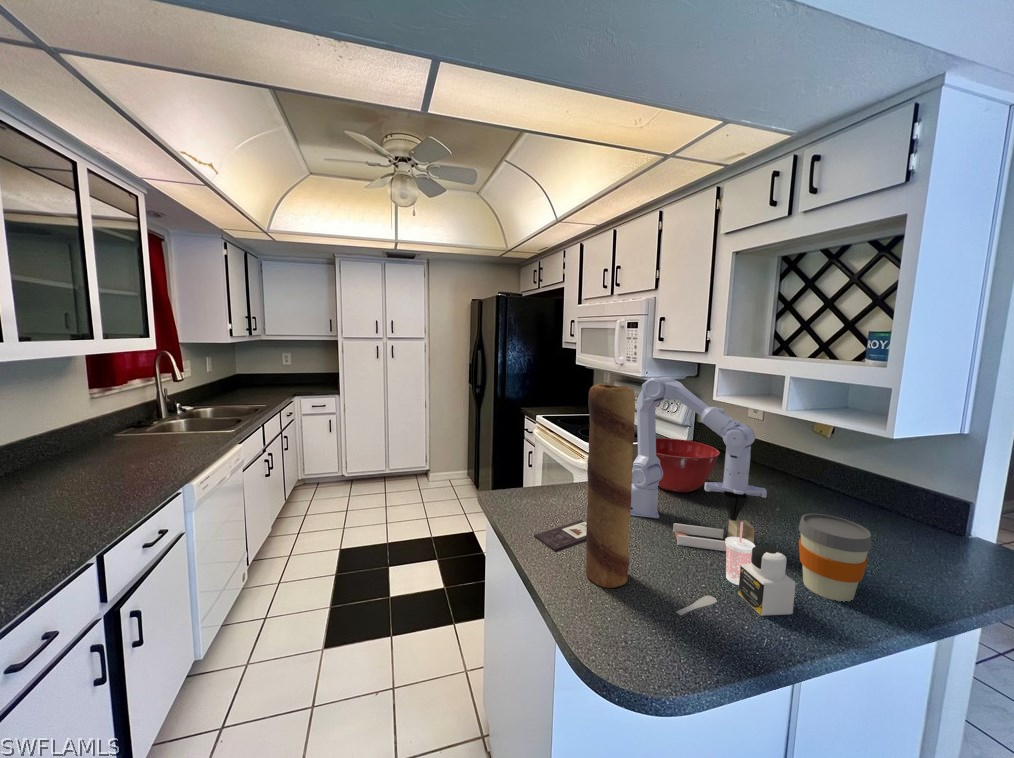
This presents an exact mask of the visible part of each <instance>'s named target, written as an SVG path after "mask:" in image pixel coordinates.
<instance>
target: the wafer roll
mask: <svg viewBox="0 0 1014 758" xmlns="http://www.w3.org/2000/svg"><path fill="white" fill-rule="evenodd" d="M635 394H636V393H635V390H634V388H633V387H632V386H628V385H618V386H617V385H615V384H609V383H597V384H595V385H592V386H591V387H590V388H589V391H588V399H587V400H588V401H587V404H588V410H589V411H588V412H589V431H588V437H589V438H588V457H587V469H586V470H587V474H586V475H587V495H586V496H587V509H586V523H587V525H586V526H587V531H586V541H585V542H586V548H585V549H586V556H585V557H586V559H585V560H586V561H585V562H586V564H585V565H586V567H585V574H586V578H587V579H588V580H589V581H591V582H592V583H593V584H594V585H596V586H599V587H600V588H604V589H615V588H619V587H621V586H624V585H626V583H627V582H628V577H629V575H628V574H629V573H628V572H629V566H630V553H629V546H630V541H629V539H630V538H629V534H630V533H629V532H630V520H631V516H632V515H631V490H632V484H633V482H632V469H633V451H634V439H635V432H636V431H635V423H636V422H635V419H636V418H635V415H636V414H635V413H636V412H635V411H636V397H635V396H636V395H635Z"/></svg>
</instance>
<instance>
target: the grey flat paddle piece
mask: <svg viewBox="0 0 1014 758" xmlns="http://www.w3.org/2000/svg"><path fill="white" fill-rule="evenodd" d="M716 603H718V600H717V599H716V598H715V597H714V596H711V595H705V596H703V597H701V598H699V599H697V600H696V601H694V602H693V603H692V604H690V605H688V606H685V607H684V608H681V609H679V610H677V611H675V612H676V613H677V614H678V615H680V616H684V615H685V614H687V613H689V612H691V611H694V610H698V609H700V608H704V607H708V606H712V605H715V604H716Z"/></svg>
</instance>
